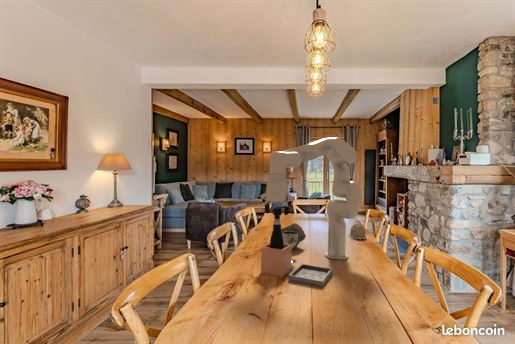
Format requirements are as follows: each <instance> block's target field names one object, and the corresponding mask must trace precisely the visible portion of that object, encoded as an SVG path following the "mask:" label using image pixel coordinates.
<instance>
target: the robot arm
mask: <svg viewBox="0 0 515 344" xmlns="http://www.w3.org/2000/svg"><path fill="white" fill-rule="evenodd" d="M356 151H357V150H356V149H354V147H353V146H352V145H350V144H349V143H348V142H347V141H345V140H344V139H342V138H340V137H335V136H334V137H326V138H320V139H318V140H315V141H311V142H310V143H307V144H304V145H300V146H299V145H298V146H295V147H292V148H289V149H285V150H283V151H280V150H279V151H272V152H270V154H269V174H267V175H266V177H267V179H269V180H267V182H266V189H265V192H264V193H262V194H260V195H259V196H260V199H261V201H262V203H263V205H264V211H265V213H264V214H269V213H270V203H282V204H284V205H285V206H284V209H283V210H284V214H283V215H284V216H288V215H289V213H290V206H291V205H292V204H293V202H294V201H295V200H296V198H295V196H293V195H292V194H290V193H289V187H288V186H289V185H288V181H287V179H286V173H287V170H286V169H287V168H297V167H299V166H300V165H301V164H302V163H303V162H309V161H313V160H316V159H319V158H320V157H323V156H327V157H326V158H327V159H328V161H329V163H330V165H331V166H332V168H333V181H332V189H331V193H332V195H333V196H334V197H336V198H340V199H331V200H329V201H328V203H327V204H326V214H327V220H328V222H327V224H328V225H327V226H328V229H327V251H326V252H324V257H326V258H328V259H332V260H341V261H342V260H347V259H349V254H348V253H346V251H347V250H346V248H347V247H346V244H347V238H346V237H347V224H346V221H345V219H346V220H354V219H355V218H357V216H358V214H359V210H360V201H361V193H362V192H361V191H362V190H361V186H360V185H361V184H359V182H357V181H354V180H350V178H351V177H350V174H351V173H350V172H351V171H350V168H349V167H348V164H353V163H355V162H356V160H357V157H358V154H357V152H356ZM341 198H342V199H341ZM289 199H290V200H289ZM344 199H346V200H344Z"/></svg>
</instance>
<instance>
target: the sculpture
mask: <svg viewBox="0 0 515 344" xmlns="http://www.w3.org/2000/svg"><path fill="white" fill-rule="evenodd" d="M348 236H349V237H350V238H352V239H351V240H354V239H364V240H366V239H367V236H366V229H365V227H364V225H362V223H361V224H360V223H354V224H352V225H351V227H350V232H349V233H348ZM349 237H348V238H349ZM350 238H349V239H350ZM365 238H366V239H365Z"/></svg>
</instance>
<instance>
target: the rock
mask: <svg viewBox="0 0 515 344" xmlns="http://www.w3.org/2000/svg"><path fill="white" fill-rule="evenodd" d="M284 231H295V232H298V239H297V243H296V245H295V246H294V247H293V248H292V249H295V248H297V247H298V246H299V244H300V243H302V241H304V240H305V239H306V237H307V235H306V234H305V230H303V227H302V226H301V225H299V224H298V223H296V222H294V223H291V224H290V225H287V226H285V227H283V228H281V232H282V235H283V232H284Z"/></svg>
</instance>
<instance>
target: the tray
mask: <svg viewBox="0 0 515 344" xmlns="http://www.w3.org/2000/svg"><path fill="white" fill-rule="evenodd" d="M332 275H333V268H331V267H326V266H325V267H324V266H317V265H311V264H307V263H306V264H305V263H301V264H299V266H298V267H296V268H295V269H293V271H291V272H290V273H289V274H288V276H287V277H288V279H287V280H288V282H290V283H291V282H292V283H297V284H302V285H307V286H312V287H319V288H324V286H326V284H327V282H328V281H329V280H330V278H331V277H332Z"/></svg>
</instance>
